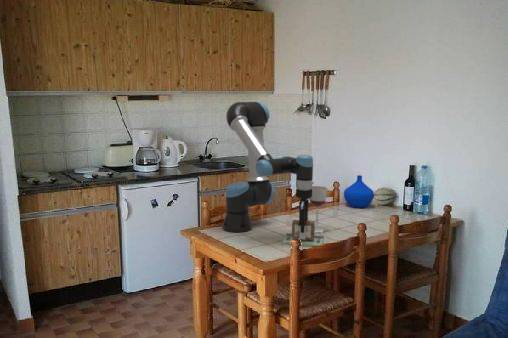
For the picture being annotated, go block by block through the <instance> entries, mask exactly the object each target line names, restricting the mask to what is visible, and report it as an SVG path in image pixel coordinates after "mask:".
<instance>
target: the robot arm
mask: <svg viewBox="0 0 508 338" xmlns="http://www.w3.org/2000/svg"><path fill="white" fill-rule="evenodd" d="M225 116H226V123H227V124H228V126H229V128H230V130H231V131H233V132H235V133H236V135H237V136H238V138H239V139H240V141H241V142H242V144H243V145H244V147H245V148H246V149H247V155H248V167H249V168H248V169H249V170H248V171H249V178H248V179H247V180H246V181H247V182H246V181H237V182H232V183H230V184H228V185H227V186H226V188H225V217H224V219H223V223H222V230H224V231H226V232H227V233H228V232H230V233H245V232H249V231H252V229H253V223H252V219H251V217H250V214H249V213H250V210H249V209H250V207H257V206H265V205H267V204H270V203H271V202H273V200H274V198H275V196H276V195H275V194H276V192H275V191H276V190H275V186H274V184H273V183H272V182H270V178H269V177H271V176H276V175H286V174H293V175H296V176H295V197H296V198H299V201H298V204H299V205H298V209H299V214H298V215H299V216H298V217H299V218H298V220H299V224H298V226H300V237H299V239H306V225H305V221H310V220H309V216H308V215H309V203H310V200H309V198H311V197H312V189H311V188H312V186H313V184H315V183H314V181H313V178H314V177H313V175H314V158H313V156H312V155H311V154H298V155H296V157H294V156H293V157H292V156H285V155H284V156H282V157H280V158H279V157H278V158H273V157H272V155H271V153H270V152H269V151H268V150H267V148H266V146H265V142H264V130H265V129H266V124H267V123H268V122H269V119H270V110H269V108H268V107H267V105H266V104H265V103H263V102H262V101H236V102H234V103H233V104H231V105H230V106H229V107H228V108H227V111H226V115H225Z"/></svg>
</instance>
